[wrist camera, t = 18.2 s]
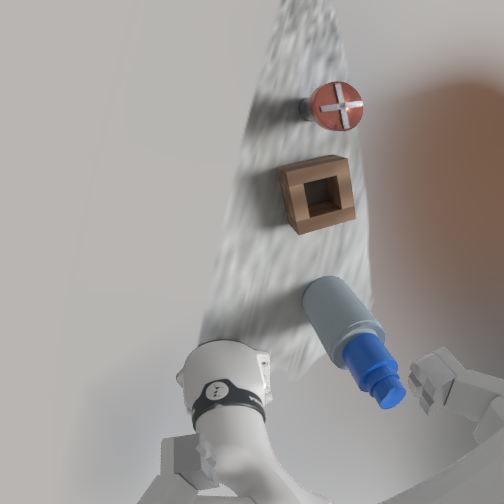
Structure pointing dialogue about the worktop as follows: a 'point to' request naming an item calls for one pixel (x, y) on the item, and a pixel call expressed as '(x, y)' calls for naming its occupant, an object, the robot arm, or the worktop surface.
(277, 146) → the worktop surface
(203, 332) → the worktop surface
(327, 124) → the copper cross-head bolt
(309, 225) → the block
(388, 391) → the spray bottle
